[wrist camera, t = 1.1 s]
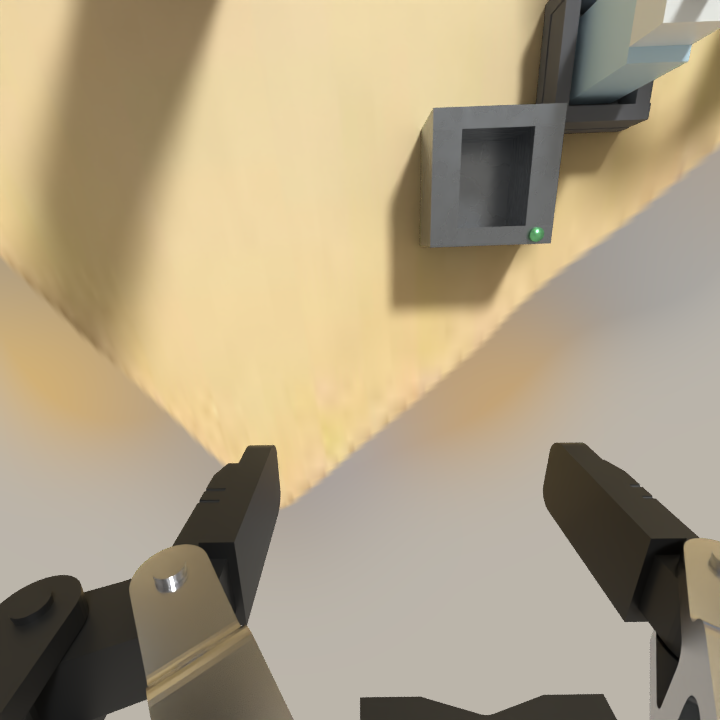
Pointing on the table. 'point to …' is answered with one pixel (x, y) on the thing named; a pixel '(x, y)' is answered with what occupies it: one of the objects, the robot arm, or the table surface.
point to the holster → (558, 68)
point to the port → (490, 174)
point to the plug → (635, 44)
